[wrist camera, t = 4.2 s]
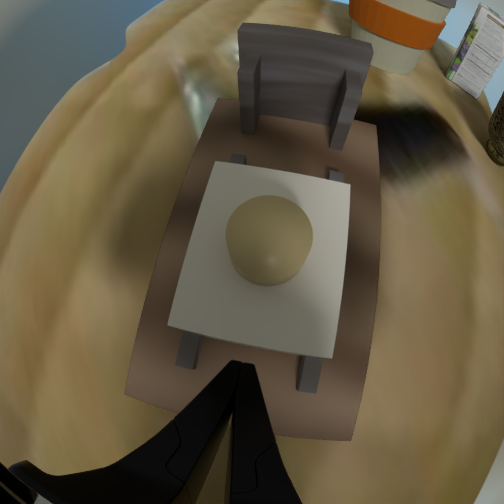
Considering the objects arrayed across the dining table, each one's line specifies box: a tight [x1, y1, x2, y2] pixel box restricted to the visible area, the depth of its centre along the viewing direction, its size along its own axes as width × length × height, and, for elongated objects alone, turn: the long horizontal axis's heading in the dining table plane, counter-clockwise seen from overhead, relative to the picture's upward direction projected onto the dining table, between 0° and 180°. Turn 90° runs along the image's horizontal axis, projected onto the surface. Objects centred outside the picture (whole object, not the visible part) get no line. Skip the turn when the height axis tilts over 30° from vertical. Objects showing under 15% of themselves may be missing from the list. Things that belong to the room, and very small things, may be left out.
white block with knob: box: [167, 161, 350, 358], centre depth 12 cm, size 6×5×9 cm
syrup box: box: [446, 3, 504, 99], centre depth 20 cm, size 6×6×14 cm
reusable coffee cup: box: [349, 0, 456, 75], centre depth 20 cm, size 12×13×15 cm
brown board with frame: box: [125, 23, 381, 441], centre depth 15 cm, size 24×14×9 cm, turn 168°
